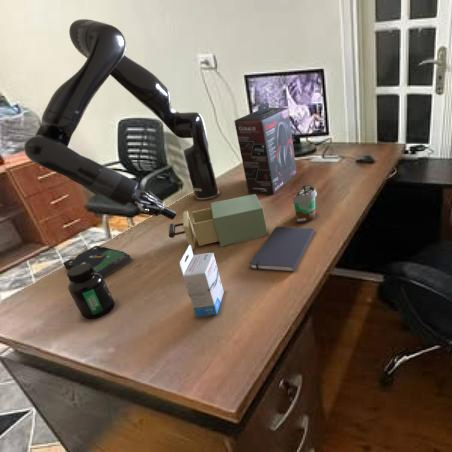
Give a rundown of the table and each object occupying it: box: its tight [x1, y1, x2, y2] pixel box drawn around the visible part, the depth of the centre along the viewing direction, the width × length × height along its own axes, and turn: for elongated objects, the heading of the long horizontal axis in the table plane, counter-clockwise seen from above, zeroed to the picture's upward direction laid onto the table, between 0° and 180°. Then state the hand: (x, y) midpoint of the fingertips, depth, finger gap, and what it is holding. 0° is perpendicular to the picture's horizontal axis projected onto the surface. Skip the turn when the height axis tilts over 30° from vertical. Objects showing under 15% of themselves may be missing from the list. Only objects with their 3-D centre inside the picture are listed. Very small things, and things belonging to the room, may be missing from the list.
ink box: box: [178, 244, 225, 318], centre depth 79 cm, size 9×5×15 cm, turn 5°
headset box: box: [233, 101, 297, 195], centre depth 144 cm, size 25×12×33 cm, turn 162°
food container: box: [292, 183, 318, 224], centre depth 118 cm, size 12×6×10 cm, turn 168°
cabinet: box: [210, 193, 268, 247], centre depth 112 cm, size 15×13×10 cm
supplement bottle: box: [66, 264, 116, 321], centre depth 81 cm, size 7×7×12 cm
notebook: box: [249, 226, 315, 273], centre depth 103 cm, size 13×2×21 cm
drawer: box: [168, 207, 219, 250], centre depth 109 cm, size 18×11×8 cm, turn 111°
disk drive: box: [63, 245, 132, 278], centre depth 101 cm, size 10×3×15 cm
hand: (174, 216), depth 104 cm, fingers closed
